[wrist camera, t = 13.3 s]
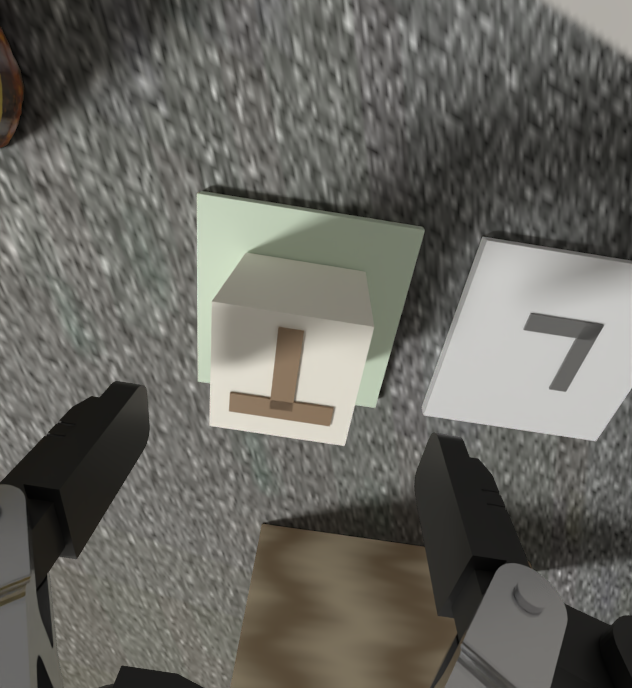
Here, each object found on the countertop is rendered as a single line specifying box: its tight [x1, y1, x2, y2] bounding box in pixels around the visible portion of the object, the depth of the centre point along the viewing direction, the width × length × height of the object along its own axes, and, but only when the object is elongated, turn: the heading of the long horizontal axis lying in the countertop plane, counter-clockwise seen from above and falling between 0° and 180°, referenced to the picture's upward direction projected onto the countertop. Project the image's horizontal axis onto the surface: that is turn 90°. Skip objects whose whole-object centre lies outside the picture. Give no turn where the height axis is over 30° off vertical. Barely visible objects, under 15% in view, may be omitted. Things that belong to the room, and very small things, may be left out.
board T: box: [197, 191, 425, 408], centre depth 18 cm, size 9×9×1 cm
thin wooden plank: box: [230, 524, 532, 688], centre depth 22 cm, size 18×2×12 cm, turn 82°
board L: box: [422, 236, 632, 441], centre depth 18 cm, size 9×9×1 cm
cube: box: [210, 252, 374, 446], centre depth 15 cm, size 5×5×5 cm
